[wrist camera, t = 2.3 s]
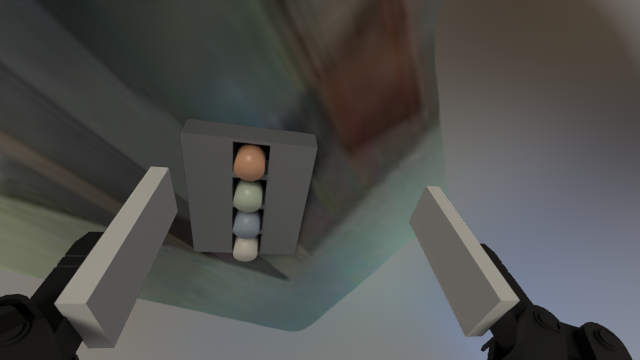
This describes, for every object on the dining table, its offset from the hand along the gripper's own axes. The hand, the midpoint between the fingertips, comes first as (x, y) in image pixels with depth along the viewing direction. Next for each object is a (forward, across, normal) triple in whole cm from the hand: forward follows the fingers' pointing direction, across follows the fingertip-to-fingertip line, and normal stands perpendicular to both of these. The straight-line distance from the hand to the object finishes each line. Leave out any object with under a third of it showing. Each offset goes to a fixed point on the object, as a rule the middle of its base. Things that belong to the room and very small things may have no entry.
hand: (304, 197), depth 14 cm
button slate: (+23, -5, -24) cm, 34 cm away
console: (+26, -5, -21) cm, 34 cm away
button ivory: (+24, -6, -30) cm, 39 cm away
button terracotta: (+23, -5, -12) cm, 27 cm away
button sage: (+24, -5, -18) cm, 30 cm away
